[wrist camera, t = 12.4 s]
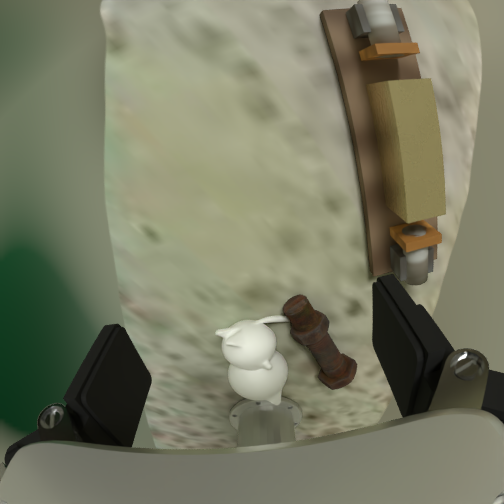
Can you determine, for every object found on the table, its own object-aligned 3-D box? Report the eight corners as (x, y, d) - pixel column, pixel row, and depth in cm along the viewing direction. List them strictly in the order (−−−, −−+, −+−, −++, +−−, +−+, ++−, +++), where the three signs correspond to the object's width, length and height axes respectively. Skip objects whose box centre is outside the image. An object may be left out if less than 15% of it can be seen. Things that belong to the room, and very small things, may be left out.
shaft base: (431, 253, 35) (455, 277, 30) (369, 270, 36) (387, 298, 31) (395, 11, 23) (421, -4, 17) (319, 14, 24) (334, -5, 18)
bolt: (295, 283, 39) (339, 355, 44) (266, 309, 38) (316, 378, 43) (322, 293, 34) (364, 370, 39) (290, 323, 33) (339, 395, 38)
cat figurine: (230, 361, 30) (257, 424, 35) (310, 312, 34) (321, 380, 39) (198, 325, 37) (225, 388, 42) (267, 288, 42) (283, 352, 46)
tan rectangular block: (404, 81, 25) (430, 78, 20) (420, 197, 30) (445, 214, 26) (365, 84, 26) (387, 80, 21) (385, 205, 31) (407, 223, 26)
